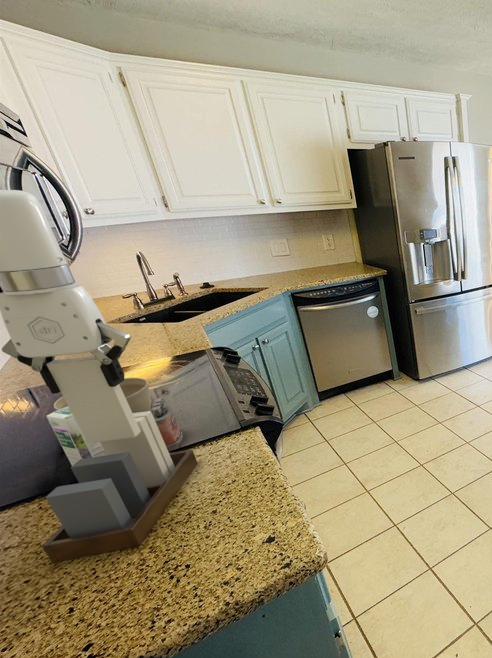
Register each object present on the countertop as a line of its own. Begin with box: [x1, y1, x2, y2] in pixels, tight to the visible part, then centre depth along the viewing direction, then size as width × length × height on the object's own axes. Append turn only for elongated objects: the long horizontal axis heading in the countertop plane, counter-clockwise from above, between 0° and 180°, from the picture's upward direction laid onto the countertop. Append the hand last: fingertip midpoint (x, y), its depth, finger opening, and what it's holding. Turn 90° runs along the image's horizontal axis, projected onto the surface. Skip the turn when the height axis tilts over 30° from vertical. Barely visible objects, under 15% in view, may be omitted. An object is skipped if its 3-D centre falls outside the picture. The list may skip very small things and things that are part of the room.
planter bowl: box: [53, 377, 152, 413], centre depth 96 cm, size 16×16×11 cm
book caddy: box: [41, 449, 199, 564], centre depth 74 cm, size 12×23×4 cm, turn 16°
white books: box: [100, 410, 175, 487], centre depth 78 cm, size 7×4×15 cm, turn 106°
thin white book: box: [46, 355, 141, 443], centre depth 69 cm, size 7×2×15 cm, turn 106°
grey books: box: [45, 452, 151, 538], centre depth 68 cm, size 7×9×12 cm
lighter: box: [151, 397, 184, 450], centre depth 93 cm, size 8×3×10 cm, turn 30°
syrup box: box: [46, 407, 106, 467], centre depth 82 cm, size 6×6×14 cm
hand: (89, 385), depth 68 cm, fingers closed on thin white book, 7 cm apart
